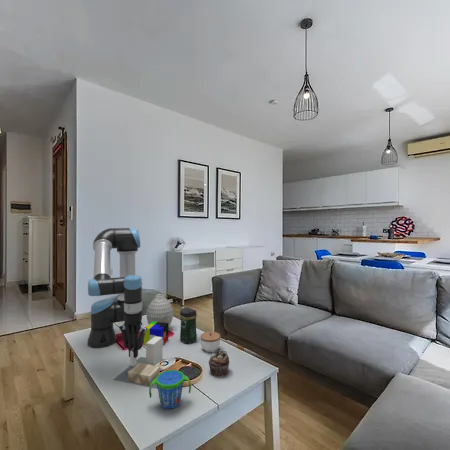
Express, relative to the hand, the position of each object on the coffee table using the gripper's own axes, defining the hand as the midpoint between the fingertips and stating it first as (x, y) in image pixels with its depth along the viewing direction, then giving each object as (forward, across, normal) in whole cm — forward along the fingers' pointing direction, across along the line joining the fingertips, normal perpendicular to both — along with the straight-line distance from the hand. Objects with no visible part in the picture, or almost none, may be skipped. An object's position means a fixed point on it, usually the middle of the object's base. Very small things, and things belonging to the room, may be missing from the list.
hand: (133, 364), depth 123 cm
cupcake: (+6, +35, +15) cm, 39 cm away
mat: (+6, +6, +6) cm, 10 cm away
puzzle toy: (+6, -8, +33) cm, 35 cm away
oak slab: (+3, -1, 0) cm, 4 cm away
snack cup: (+6, +24, -11) cm, 27 cm away
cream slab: (+5, +4, +11) cm, 13 cm away
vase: (+6, -15, +49) cm, 52 cm away
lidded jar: (+6, +24, +34) cm, 42 cm away
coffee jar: (+6, +8, +41) cm, 42 cm away
